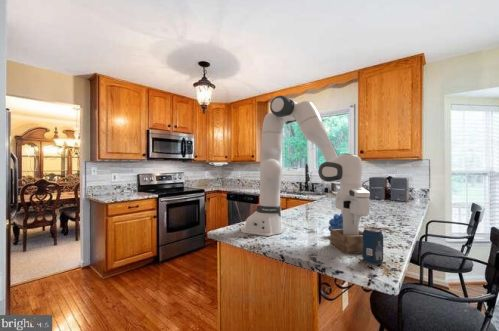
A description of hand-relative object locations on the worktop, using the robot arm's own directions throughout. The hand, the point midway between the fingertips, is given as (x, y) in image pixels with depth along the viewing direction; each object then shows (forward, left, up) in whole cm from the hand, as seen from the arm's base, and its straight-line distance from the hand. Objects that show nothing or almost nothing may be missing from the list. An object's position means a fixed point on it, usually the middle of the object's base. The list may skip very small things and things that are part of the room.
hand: (350, 222), depth 102 cm
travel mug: (0, 0, -10) cm, 11 cm away
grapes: (-1, +18, -11) cm, 21 cm away
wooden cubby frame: (0, 0, -11) cm, 11 cm away
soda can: (+5, -13, -11) cm, 18 cm away
